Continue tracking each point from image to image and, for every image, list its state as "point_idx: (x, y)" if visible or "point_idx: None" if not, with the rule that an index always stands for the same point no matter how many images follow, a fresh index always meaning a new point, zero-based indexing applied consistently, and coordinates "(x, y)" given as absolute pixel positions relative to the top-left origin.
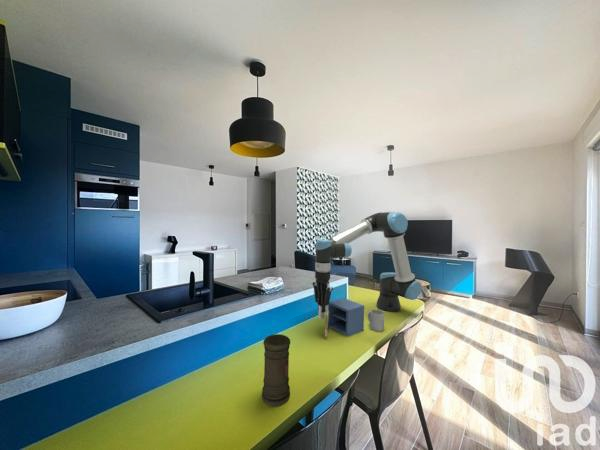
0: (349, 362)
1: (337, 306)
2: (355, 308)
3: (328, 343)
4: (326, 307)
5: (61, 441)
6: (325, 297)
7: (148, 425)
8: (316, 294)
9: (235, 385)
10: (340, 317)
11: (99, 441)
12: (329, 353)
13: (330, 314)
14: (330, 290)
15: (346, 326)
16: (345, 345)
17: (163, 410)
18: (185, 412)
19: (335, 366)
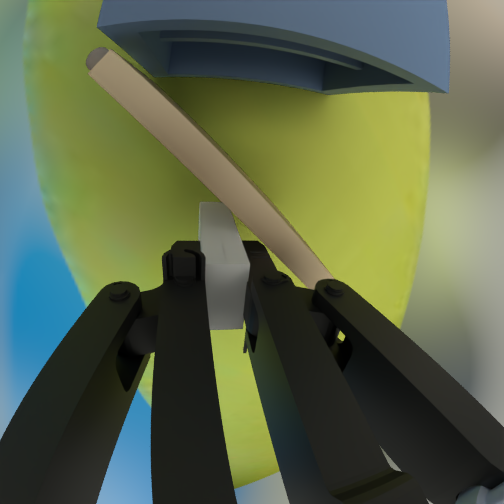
0: (414, 258)
1: (296, 35)
2: (444, 6)
3: (305, 229)
4: (189, 152)
5: (236, 487)
6: (380, 425)
7: (263, 472)
8: (112, 436)
9: (269, 442)
10: (281, 44)
11: (254, 481)
12: (349, 277)
13: (158, 51)
14: (502, 467)
15: (348, 90)
16: (367, 180)
17: (252, 470)
18: (271, 462)
19: (390, 303)
